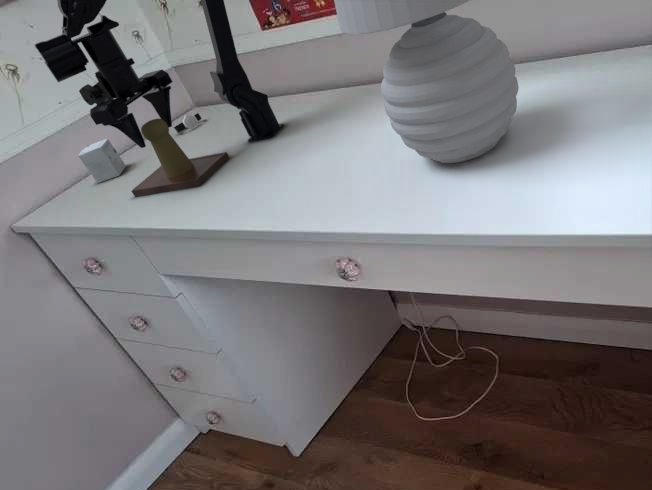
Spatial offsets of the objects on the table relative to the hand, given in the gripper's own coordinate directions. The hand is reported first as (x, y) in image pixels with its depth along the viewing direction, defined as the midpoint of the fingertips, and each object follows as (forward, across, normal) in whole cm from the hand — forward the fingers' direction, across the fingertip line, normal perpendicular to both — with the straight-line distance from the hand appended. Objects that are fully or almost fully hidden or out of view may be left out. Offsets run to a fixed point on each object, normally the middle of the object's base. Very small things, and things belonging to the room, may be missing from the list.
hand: (157, 136), depth 133 cm
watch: (+10, -31, -20) cm, 38 cm away
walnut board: (+9, 0, 0) cm, 9 cm away
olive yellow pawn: (+8, 0, 0) cm, 8 cm away
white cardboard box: (+10, -9, -29) cm, 32 cm away
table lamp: (+9, +8, +68) cm, 69 cm away
